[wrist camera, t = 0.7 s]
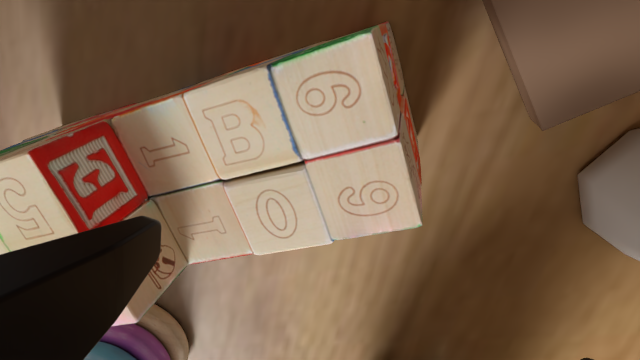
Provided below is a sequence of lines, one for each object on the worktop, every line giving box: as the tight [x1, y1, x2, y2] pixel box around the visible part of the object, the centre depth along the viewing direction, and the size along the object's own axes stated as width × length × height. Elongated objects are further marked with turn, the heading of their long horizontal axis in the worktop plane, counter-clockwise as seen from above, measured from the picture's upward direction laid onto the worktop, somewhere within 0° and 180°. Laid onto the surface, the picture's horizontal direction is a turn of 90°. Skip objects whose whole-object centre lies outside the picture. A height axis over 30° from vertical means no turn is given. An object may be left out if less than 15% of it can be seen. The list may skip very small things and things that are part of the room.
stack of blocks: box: [0, 21, 422, 326], centre depth 17 cm, size 21×6×12 cm, turn 109°
